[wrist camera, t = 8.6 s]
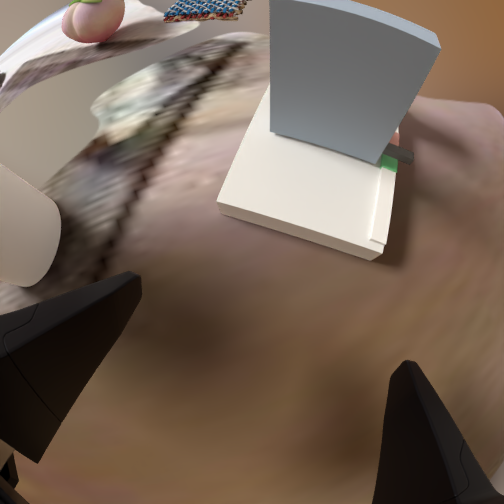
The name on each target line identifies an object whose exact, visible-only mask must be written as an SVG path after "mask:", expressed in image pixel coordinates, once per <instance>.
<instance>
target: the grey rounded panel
mask: <svg viewBox="0 0 504 504" xmlns="http://www.w3.org/2000/svg"><path fill="white" fill-rule="evenodd" d="M269 1H270V2H269V5H270V132H273V133H277V134H281V135H285V136H289V137H293V138H296V139H300V140H303V141H307V142H310V143H314V144H317V145H320V146H324V147H327V148H330V149H333V150H336V151H339V152H342V153H345V154H348V155H351V156H354V157H357V158H360V159H362V160H365V161H368V162H371V163H373V164H376V162H377V160H378V159H379V157H380V156H381V154H385V155H387V156H390V157H392V158H395V159H397V160H399V161H402V162H404V163H406V164H409V165H410V164H411V163H412V162H413V160H414V153H413V152H410V151H408V150H406V149H404V148H401V147H399V146H397V145H394V144H392V143H389V141H390V139H391V138H392V136H393V135H394V133H395V131H396V130H397V128H398V126H399V125H400V123H401V121H402V119H403V118H404V116H405V114H406V113H407V111H408V109H409V108H410V106H411V104H412V102H413V101H414V99H415V97H416V95H417V93H418V92H419V90H420V88H421V86H422V84H423V83H424V81H425V79H426V77H427V75H428V74H429V72H430V70H431V68H432V66H433V64H434V62H435V60H436V58H437V56H438V55H439V53H440V51H441V47H440V44H439V42H438V39H437V36H436V34H435V33H433V32H431V31H429V30H427V29H425V28H423V27H421V26H419V25H416V24H414V23H412V22H410V21H407V20H405V19H402V18H400V17H398V16H395V15H393V14H390V13H387V12H385V11H382V10H379V9H376V8H373V7H369V6H367V5H364V4H360V3H357V2H353V1H350V0H269Z"/></svg>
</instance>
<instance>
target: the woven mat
mask: <svg viewBox="0 0 504 504" xmlns="http://www.w3.org/2000/svg"><path fill="white" fill-rule="evenodd" d="M245 1H248V0H178V1H177V2H176V3H175V4H173V6H172V7H171V8H168V11H167V12H165V13H164V14H165V15H164V17H165V19H164V21H165V22H174V21H185V20H195V21H198V22H203V21H207V20H210V19H211V20H214V19H217V20H221V21H238V17H232V16H234V15H239V14H243V10H242V9H243V8H245V6H244V5H247V2H245ZM250 1H251V0H250ZM168 19H169V20H168ZM165 22H164V23H165Z"/></svg>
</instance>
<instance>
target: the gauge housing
mask: <svg viewBox="0 0 504 504" xmlns="http://www.w3.org/2000/svg"><path fill="white" fill-rule="evenodd" d="M389 143H392V144H394V145H397V146H399V133H398V128H397V130H396V131H395V133H394V135H393V136H392V138H391V139H390V141H389ZM397 166H398V160H397V159H395V158H392V157H390V156H387V155H385V154H381V156H380V157H379V159H378V160H377V162H376V164H373V163H371V162H368V161H365V160H362V159H360V158H357V157H354V156H351V155H348V154H345V153H342V152H339V151H336V150H333V149H330V148H327V147H324V146H320V145H317V144H314V143H310V142H307V141H303V140H300V139H296V138H293V137H289V136H285V135H281V134H277V133H273V132H270V84H269V86H268V88H267V90H266V92H265V94H264V96H263V98H262V100H261V102H260V104H259V106H258V108H257V111H256V113H255V115H254V117H253V119H252V121H251V123H250V125H249V128H248V130H247V132H246V134H245V136H244V139H243V141H242V143H241V145H240V147H239V150H238V152H237V154H236V156H235V159H234V161H233V163H232V165H231V168H230V170H229V172H228V175H227V177H226V179H225V182H224V184H223V186H222V189H221V191H220V194H219V196H218V198H217V201H216V202H217V204H218V207H219V209H220V212H221V214H223V215H227V216H230V217H234V218H237V219H240V220H244V221H247V222H250V223H254V224H257V225H260V226H264V227H267V228H270V229H273V230H277V231H280V232H283V233H286V234H289V235H293V236H296V237H299V238H302V239H305V240H308V241H311V242H315V243H318V244H321V245H324V246H327V247H330V248H333V249H336V250H339V251H342V252H345V253H348V254H351V255H354V256H357V257H360V258H363V259H366V260H369V261H371V260H373V259H375V258H376V257H378V256H379V255H381V254H383V249H384V245H386V242H387V236H388V230H389V224H390V217H391V210H392V203H393V195H394V186H395V176H396V173H397Z"/></svg>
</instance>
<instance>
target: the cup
mask: <svg viewBox="0 0 504 504" xmlns="http://www.w3.org/2000/svg"><path fill="white" fill-rule="evenodd" d="M60 234H61V219H60V213H59V210H58V207H57V205H56V204H55V202H54V201H53V200H52V199H50V198H49V197H47V196H46V195H44V194H43V193H42V192H40V191H39V190H37V189H36V188H34V187H33V186H31V185H30V184H29V183H27V182H26V181H24V180H23V179H22V178H20V177H19V176H18V175H16V174H15V173H13V172H12V171H11V170H9V169H8V168H6V167H5V166H4V165H3V164H1V163H0V281H2V282H5V283H9V284H13V285H17V286H22V287H29V286H32V285H34V284H36V283H37V282H39V281H40V280H41V279H42V278H43V277H44V275H45V274H46V273H47V271H48V270H49V268H50V266H51V264H52V262H53V260H54V258H55V255H56V252H57V249H58V245H59V240H60Z"/></svg>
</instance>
